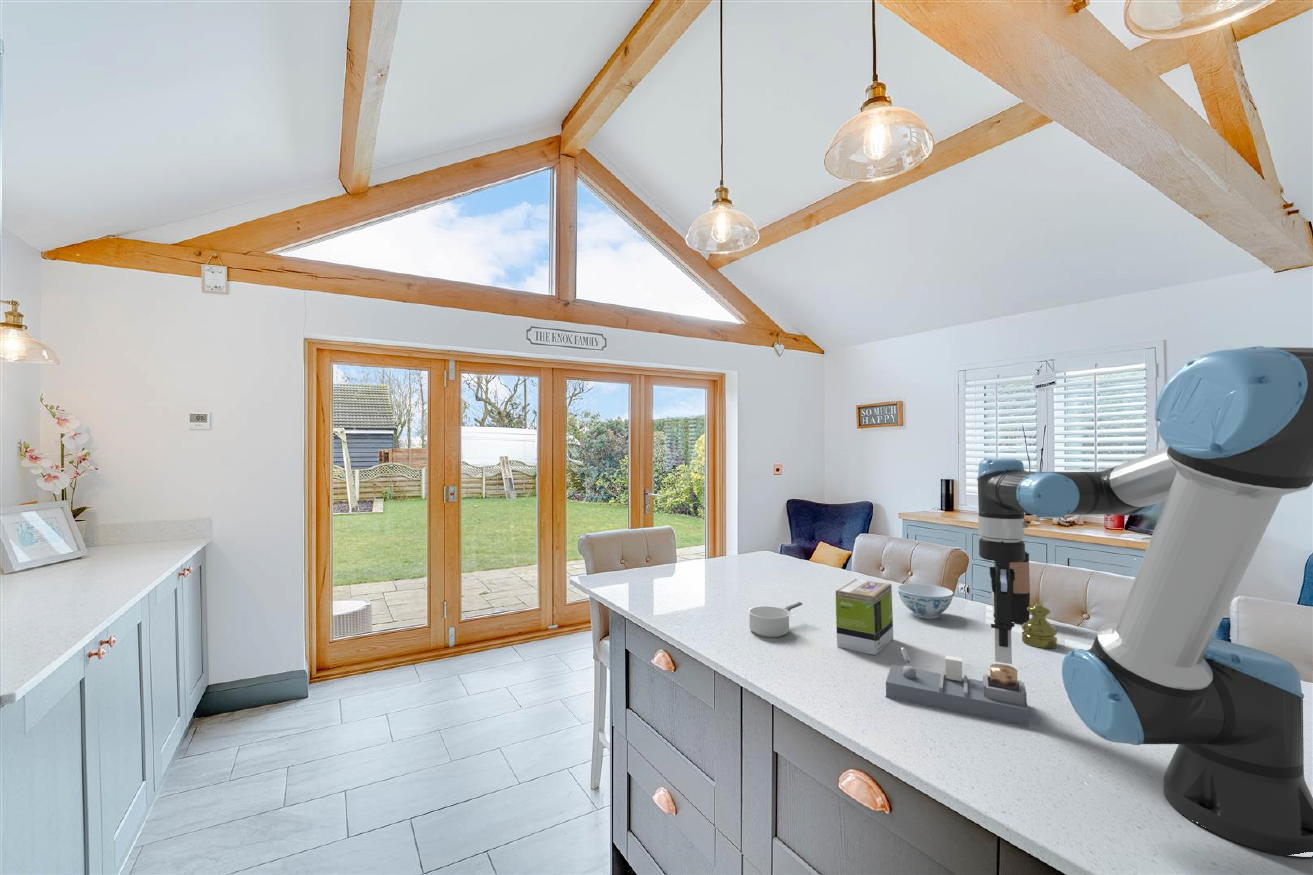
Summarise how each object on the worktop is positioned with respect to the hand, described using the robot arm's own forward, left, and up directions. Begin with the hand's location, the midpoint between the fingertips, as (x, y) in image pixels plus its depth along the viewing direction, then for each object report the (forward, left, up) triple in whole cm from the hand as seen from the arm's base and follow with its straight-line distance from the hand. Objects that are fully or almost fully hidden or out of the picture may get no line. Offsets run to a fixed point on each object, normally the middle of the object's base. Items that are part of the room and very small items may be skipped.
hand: (1003, 661), depth 104 cm
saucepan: (+25, +52, -10) cm, 58 cm away
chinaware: (+58, +17, -10) cm, 61 cm away
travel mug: (+66, -6, -10) cm, 67 cm away
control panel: (0, +8, -9) cm, 13 cm away
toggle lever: (0, +16, -4) cm, 17 cm away
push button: (0, 0, -4) cm, 4 cm away
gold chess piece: (+46, -10, -10) cm, 48 cm away
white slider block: (+3, +8, -6) cm, 11 cm away
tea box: (+25, +29, -10) cm, 39 cm away
